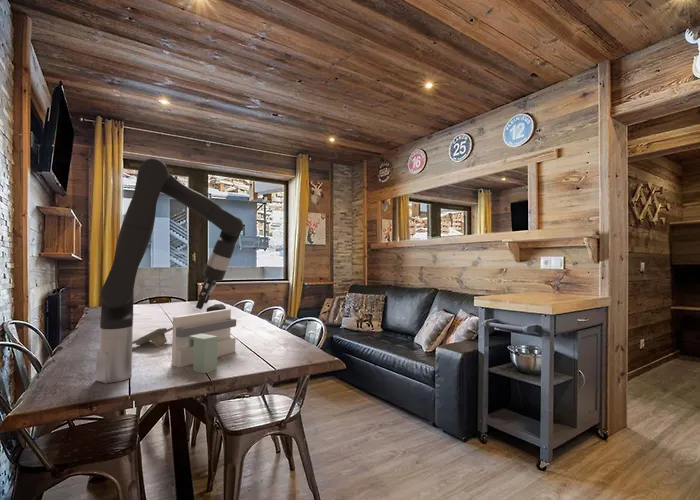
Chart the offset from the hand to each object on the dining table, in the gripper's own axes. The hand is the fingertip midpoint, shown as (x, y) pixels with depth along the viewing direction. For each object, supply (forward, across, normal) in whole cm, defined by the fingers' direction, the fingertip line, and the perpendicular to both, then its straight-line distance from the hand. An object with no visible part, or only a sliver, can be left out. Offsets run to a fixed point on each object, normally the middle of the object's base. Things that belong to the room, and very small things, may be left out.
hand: (201, 305), depth 138 cm
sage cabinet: (+20, +8, +10) cm, 23 cm away
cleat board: (+22, -7, +8) cm, 24 cm away
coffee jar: (+25, -29, +9) cm, 39 cm away
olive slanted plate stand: (+35, -30, -17) cm, 49 cm away
